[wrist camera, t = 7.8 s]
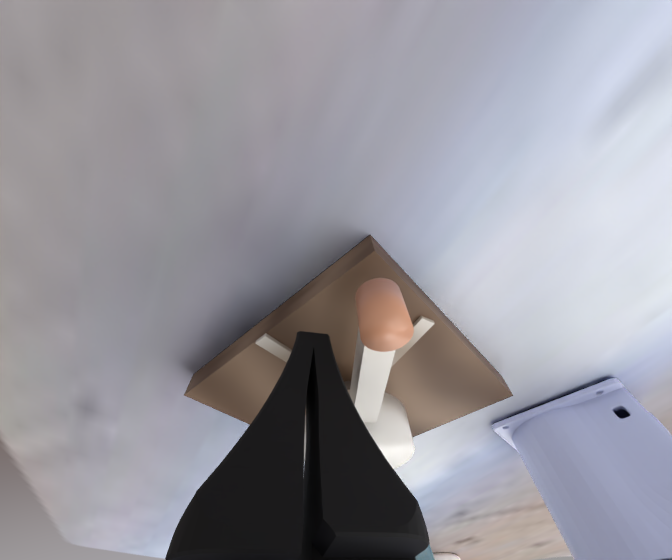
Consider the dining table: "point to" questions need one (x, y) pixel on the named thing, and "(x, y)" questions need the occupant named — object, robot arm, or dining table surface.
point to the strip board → (342, 326)
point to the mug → (445, 556)
